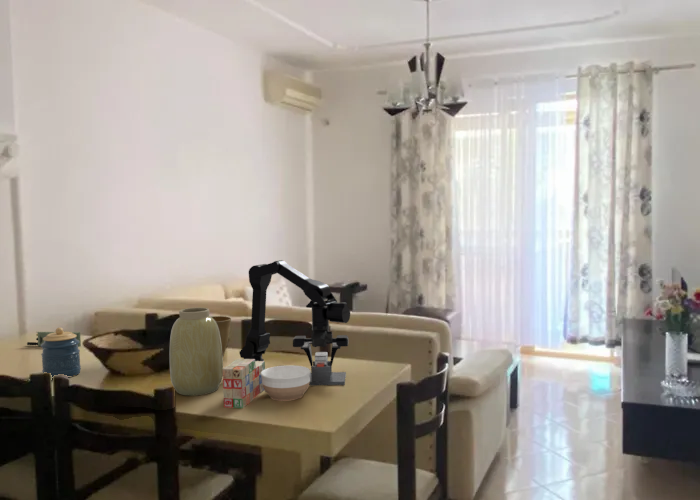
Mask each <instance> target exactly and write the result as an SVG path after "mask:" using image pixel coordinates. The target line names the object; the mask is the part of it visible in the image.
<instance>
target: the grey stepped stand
mask: <svg viewBox="0 0 700 500" xmlns="http://www.w3.org/2000/svg"><path fill="white" fill-rule="evenodd" d="M330 361H331V360H328V366H324V364H317V366H315V360H312V366H311V365H310V370H311V373H310V375H309V376H310V383H309V386H345V385H346V379H345V378H346V377H347V372H346V371H343V372H342V371H337V372H336V371H332V368H333V367H332V366H333V365H332V366H331V365H330Z"/></svg>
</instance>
